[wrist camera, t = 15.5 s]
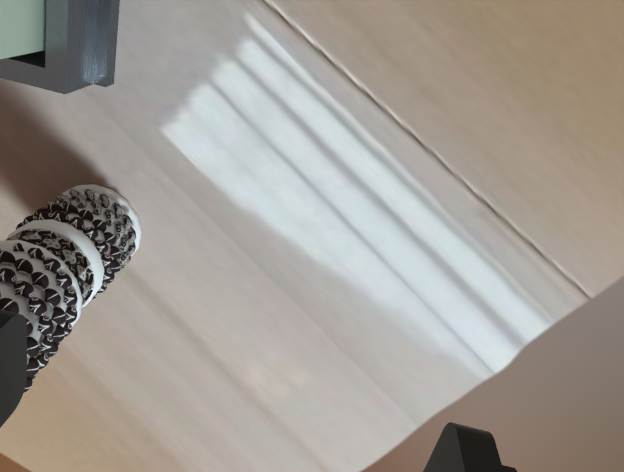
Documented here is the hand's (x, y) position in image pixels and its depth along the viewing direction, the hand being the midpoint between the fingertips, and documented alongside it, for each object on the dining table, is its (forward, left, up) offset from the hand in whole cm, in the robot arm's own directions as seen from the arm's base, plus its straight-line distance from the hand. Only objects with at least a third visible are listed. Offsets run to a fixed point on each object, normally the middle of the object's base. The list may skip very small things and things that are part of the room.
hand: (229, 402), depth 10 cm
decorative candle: (+18, -18, -36) cm, 44 cm away
